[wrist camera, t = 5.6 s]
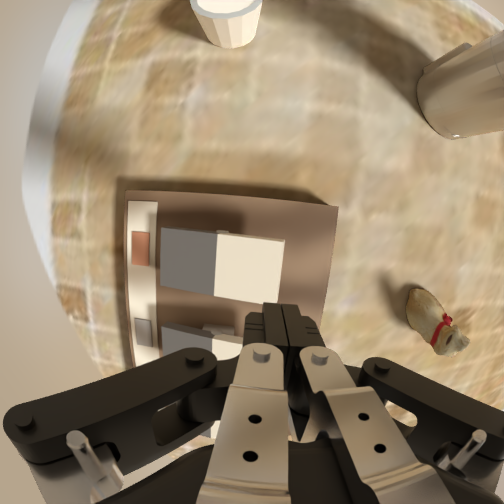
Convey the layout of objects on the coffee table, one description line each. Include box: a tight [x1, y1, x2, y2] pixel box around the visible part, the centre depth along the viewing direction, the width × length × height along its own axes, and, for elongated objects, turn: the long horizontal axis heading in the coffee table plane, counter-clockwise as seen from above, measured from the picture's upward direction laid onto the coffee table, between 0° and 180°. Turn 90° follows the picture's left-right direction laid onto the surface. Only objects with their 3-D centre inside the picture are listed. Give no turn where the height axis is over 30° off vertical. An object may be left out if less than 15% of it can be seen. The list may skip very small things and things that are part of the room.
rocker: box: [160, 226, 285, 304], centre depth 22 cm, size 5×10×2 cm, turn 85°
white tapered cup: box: [190, 0, 263, 48], centre depth 19 cm, size 7×7×7 cm
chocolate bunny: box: [406, 288, 470, 357], centre depth 25 cm, size 6×8×10 cm
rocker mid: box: [161, 321, 243, 360], centre depth 24 cm, size 5×10×2 cm, turn 85°
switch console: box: [124, 190, 339, 435], centre depth 27 cm, size 29×20×5 cm
